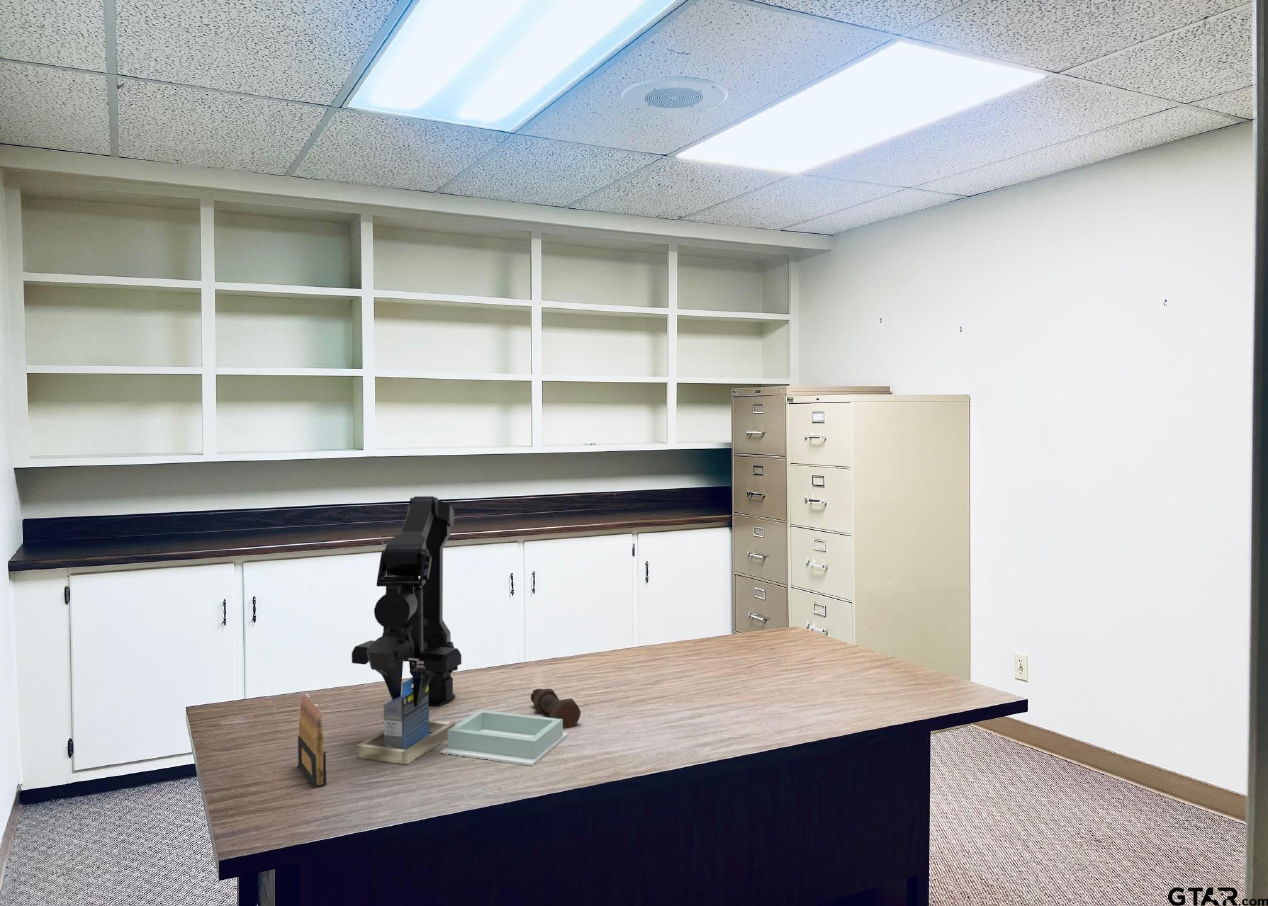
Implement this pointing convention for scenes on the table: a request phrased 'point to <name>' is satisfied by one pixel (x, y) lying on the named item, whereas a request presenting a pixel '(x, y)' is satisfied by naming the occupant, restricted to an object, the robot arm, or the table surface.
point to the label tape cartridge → (406, 719)
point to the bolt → (556, 706)
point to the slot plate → (505, 737)
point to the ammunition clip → (311, 744)
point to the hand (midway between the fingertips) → (406, 705)
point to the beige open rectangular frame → (377, 752)
